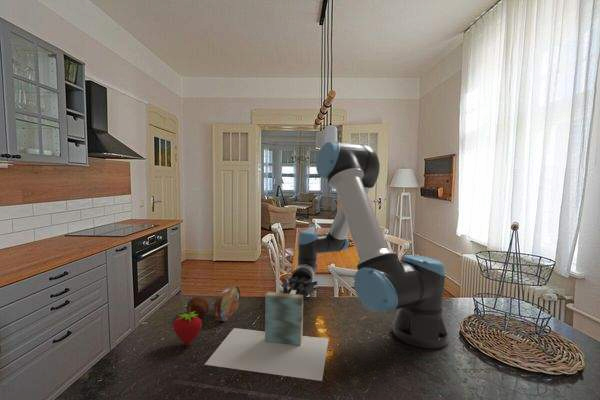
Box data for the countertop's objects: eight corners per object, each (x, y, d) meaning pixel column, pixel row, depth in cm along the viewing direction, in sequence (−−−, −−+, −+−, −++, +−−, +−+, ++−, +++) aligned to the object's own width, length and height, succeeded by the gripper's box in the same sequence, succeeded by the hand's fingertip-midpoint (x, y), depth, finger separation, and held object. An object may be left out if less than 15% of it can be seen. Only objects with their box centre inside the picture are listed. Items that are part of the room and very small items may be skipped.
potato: (183, 323, 92) (183, 303, 92) (189, 310, 101) (188, 291, 101) (206, 322, 93) (206, 301, 93) (210, 309, 102) (210, 291, 102)
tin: (221, 326, 91) (221, 299, 90) (211, 325, 92) (212, 298, 91) (241, 306, 106) (241, 282, 105) (232, 305, 106) (232, 282, 106)
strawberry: (179, 337, 84) (179, 302, 83) (205, 339, 83) (205, 304, 82) (168, 349, 78) (168, 312, 77) (196, 351, 77) (196, 314, 77)
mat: (328, 340, 84) (328, 338, 84) (321, 383, 66) (322, 380, 66) (234, 329, 89) (234, 328, 89) (204, 366, 71) (204, 364, 71)
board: (302, 341, 82) (303, 295, 81) (300, 346, 80) (301, 298, 79) (267, 337, 84) (267, 291, 83) (264, 341, 81) (265, 295, 81)
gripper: (319, 288, 111) (310, 317, 88) (285, 285, 113) (268, 312, 90) (320, 268, 111) (311, 292, 87) (286, 265, 113) (268, 288, 90)
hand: (289, 302), depth 89 cm, fingers closed
